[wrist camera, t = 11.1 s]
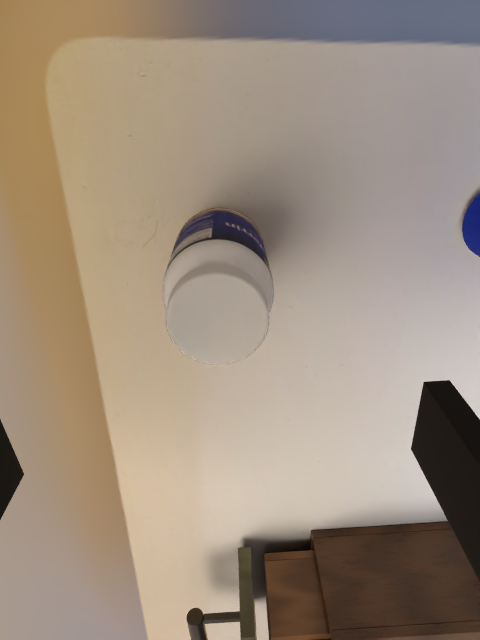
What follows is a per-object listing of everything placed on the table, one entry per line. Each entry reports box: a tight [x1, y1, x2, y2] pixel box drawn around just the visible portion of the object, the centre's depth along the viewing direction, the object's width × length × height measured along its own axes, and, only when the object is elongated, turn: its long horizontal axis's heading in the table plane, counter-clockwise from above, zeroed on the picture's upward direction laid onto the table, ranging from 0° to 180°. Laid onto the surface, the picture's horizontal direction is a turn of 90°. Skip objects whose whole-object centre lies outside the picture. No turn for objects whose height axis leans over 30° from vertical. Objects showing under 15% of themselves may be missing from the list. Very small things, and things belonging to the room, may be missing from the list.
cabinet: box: [311, 522, 480, 640], centre depth 41 cm, size 15×13×10 cm
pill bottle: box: [163, 208, 274, 365], centre depth 23 cm, size 6×6×10 cm
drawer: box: [187, 547, 330, 640], centre depth 41 cm, size 18×11×8 cm, turn 93°
